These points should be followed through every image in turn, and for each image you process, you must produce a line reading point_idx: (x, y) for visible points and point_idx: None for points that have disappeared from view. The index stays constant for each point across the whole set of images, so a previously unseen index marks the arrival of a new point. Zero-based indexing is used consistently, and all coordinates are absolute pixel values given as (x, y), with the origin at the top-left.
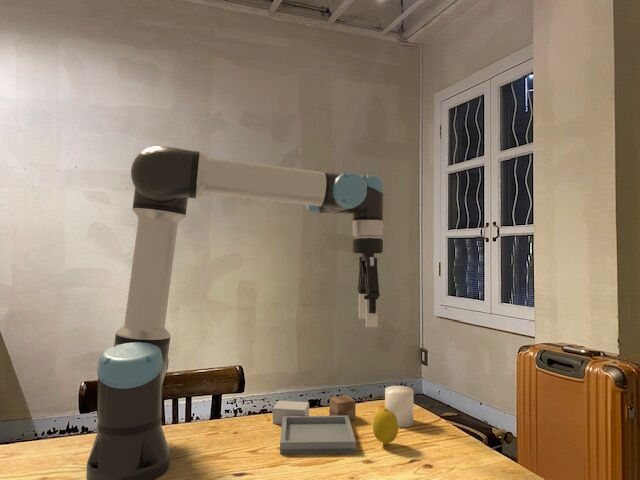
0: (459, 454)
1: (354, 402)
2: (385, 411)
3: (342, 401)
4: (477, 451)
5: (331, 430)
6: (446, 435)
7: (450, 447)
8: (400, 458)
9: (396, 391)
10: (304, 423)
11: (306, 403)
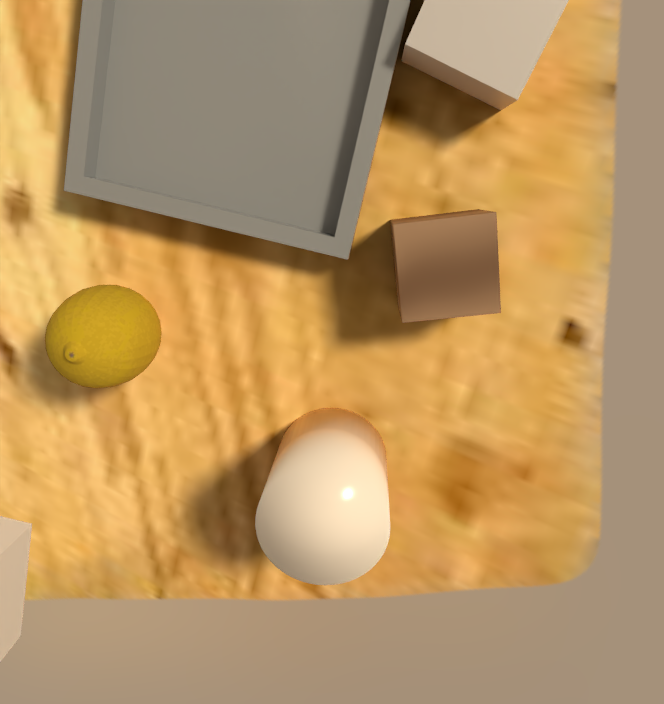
0: (32, 504)
1: (401, 315)
2: (62, 347)
3: (408, 256)
4: (46, 561)
5: (263, 150)
6: (176, 544)
7: (84, 506)
8: (26, 322)
9: (300, 504)
10: (373, 48)
11: (504, 80)
